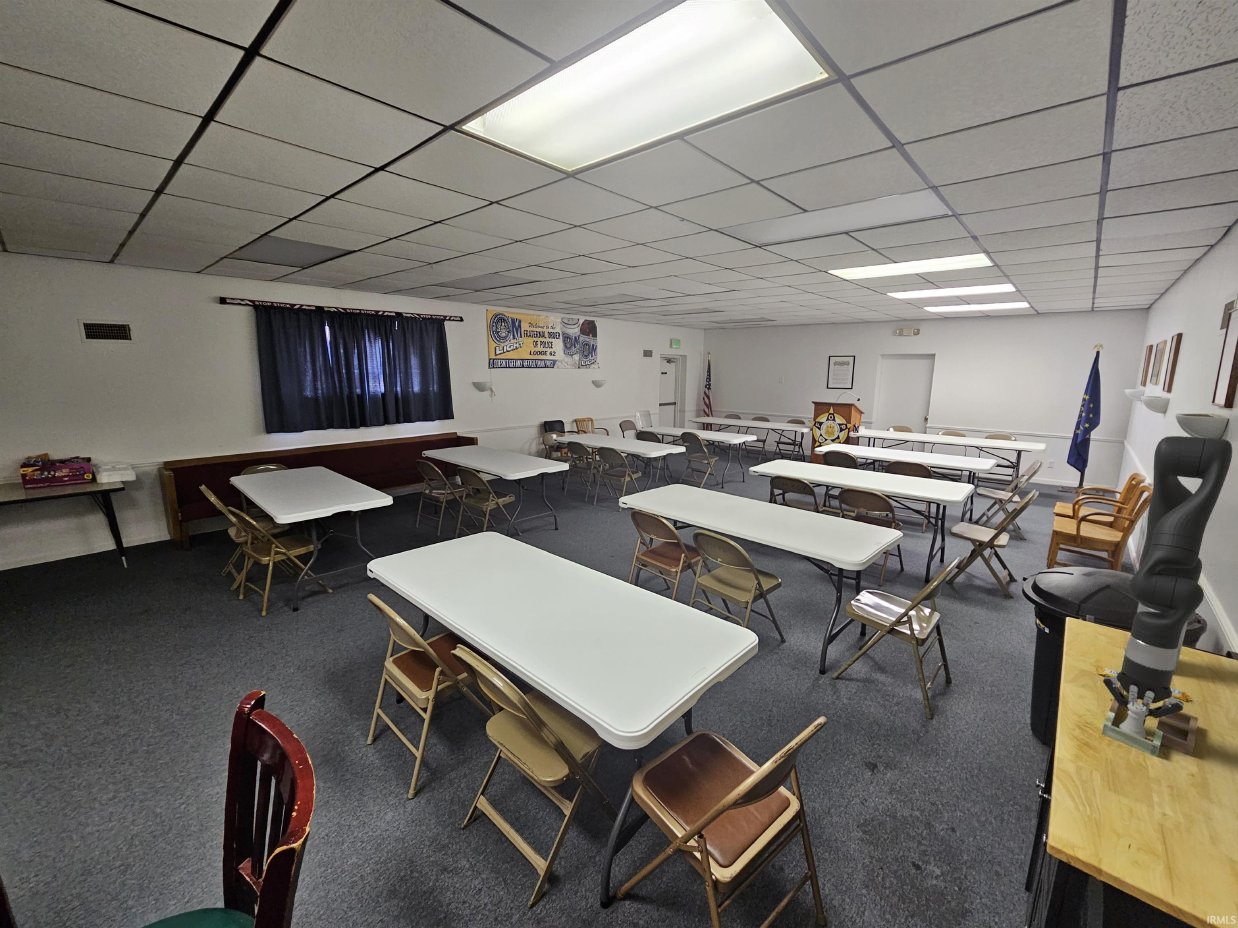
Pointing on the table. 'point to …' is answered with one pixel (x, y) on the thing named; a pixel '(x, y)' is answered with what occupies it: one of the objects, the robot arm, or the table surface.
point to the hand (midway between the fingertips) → (1134, 725)
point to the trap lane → (1157, 732)
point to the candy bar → (1112, 673)
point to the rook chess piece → (1135, 720)
